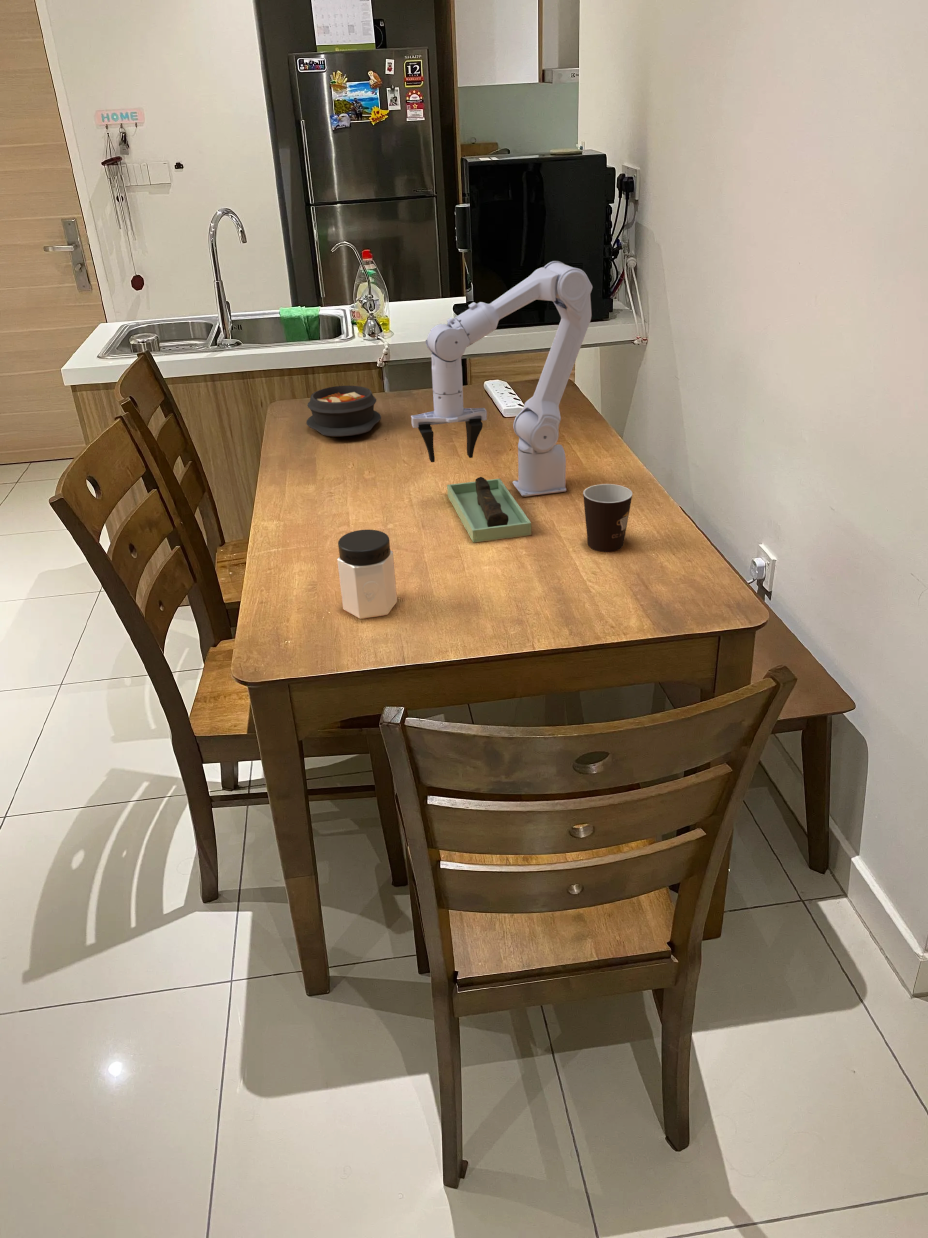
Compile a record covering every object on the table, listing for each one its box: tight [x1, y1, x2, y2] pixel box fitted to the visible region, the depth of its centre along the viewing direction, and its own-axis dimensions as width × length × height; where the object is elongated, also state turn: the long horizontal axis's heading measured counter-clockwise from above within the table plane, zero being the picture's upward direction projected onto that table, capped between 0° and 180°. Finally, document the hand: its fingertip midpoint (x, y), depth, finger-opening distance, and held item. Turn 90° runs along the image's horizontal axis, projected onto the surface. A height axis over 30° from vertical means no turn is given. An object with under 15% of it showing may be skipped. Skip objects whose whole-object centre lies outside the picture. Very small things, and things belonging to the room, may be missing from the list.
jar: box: [336, 529, 398, 620], centre depth 150 cm, size 9×8×12 cm
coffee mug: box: [582, 483, 633, 553], centre depth 168 cm, size 12×9×10 cm
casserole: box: [306, 385, 382, 438], centre depth 231 cm, size 25×19×8 cm
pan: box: [446, 478, 532, 543], centre depth 182 cm, size 11×23×2 cm, turn 13°
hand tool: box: [474, 476, 509, 527], centre depth 181 cm, size 19×4×5 cm, turn 8°
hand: (451, 458), depth 184 cm, fingers open, 7 cm apart
